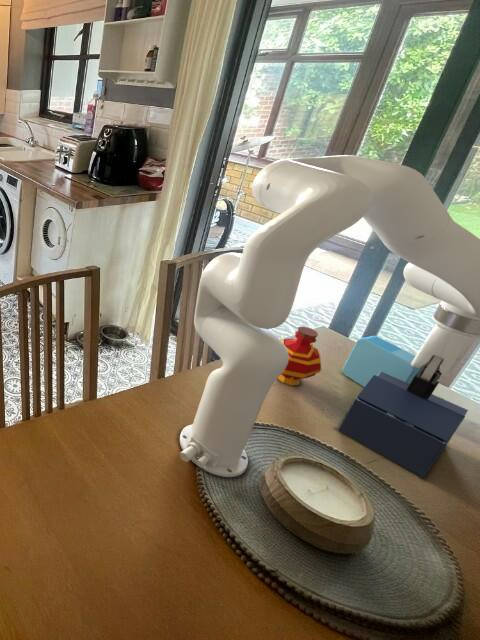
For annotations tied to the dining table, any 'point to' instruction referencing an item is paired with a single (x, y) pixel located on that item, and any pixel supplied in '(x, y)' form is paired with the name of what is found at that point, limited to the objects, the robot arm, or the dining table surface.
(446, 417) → the flap
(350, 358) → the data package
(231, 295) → the robot arm
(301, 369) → the potion bottle
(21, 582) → the dining table surface
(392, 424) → the carton
